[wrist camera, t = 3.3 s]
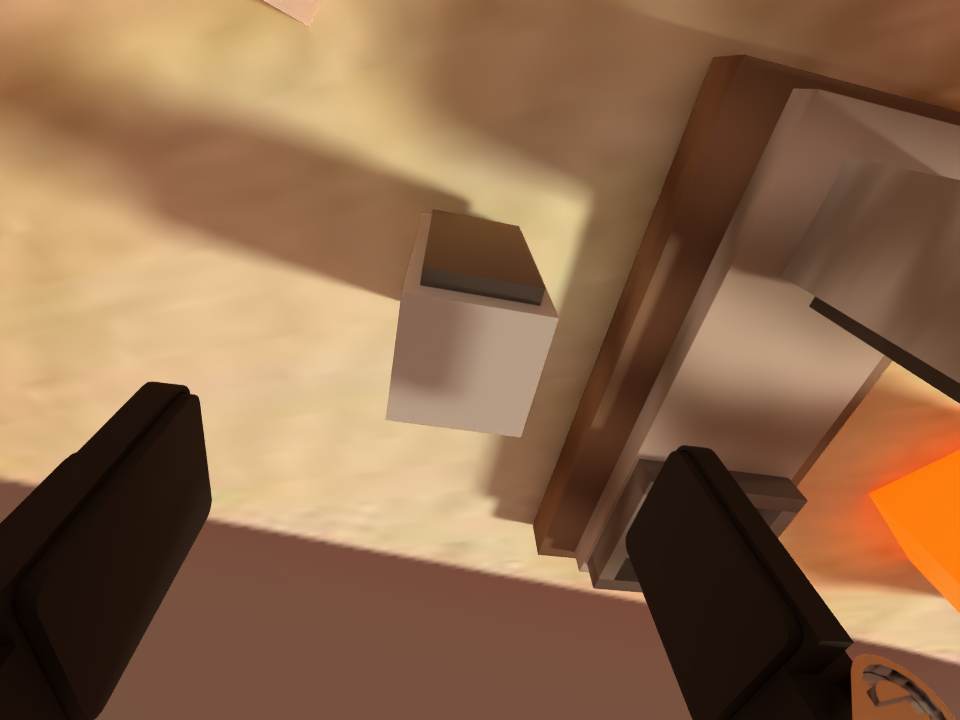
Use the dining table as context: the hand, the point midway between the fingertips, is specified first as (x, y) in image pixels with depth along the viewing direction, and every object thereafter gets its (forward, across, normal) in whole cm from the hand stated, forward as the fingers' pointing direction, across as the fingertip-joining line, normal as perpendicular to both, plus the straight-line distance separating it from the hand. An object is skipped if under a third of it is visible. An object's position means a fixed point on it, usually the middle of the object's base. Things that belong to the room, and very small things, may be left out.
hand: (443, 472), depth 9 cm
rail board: (+11, -14, +3) cm, 18 cm away
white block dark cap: (+12, -1, 0) cm, 12 cm away
